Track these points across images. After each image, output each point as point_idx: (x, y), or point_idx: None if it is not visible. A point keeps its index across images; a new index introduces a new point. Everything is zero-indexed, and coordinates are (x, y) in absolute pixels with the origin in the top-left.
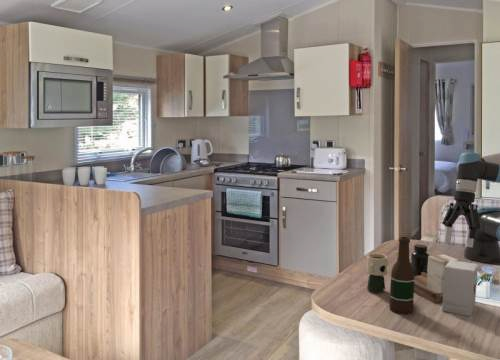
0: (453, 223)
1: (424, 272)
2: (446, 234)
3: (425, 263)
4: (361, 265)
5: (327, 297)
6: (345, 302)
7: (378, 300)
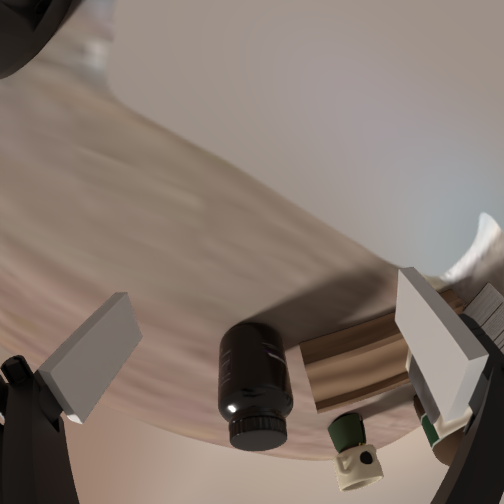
0: (32, 410)
1: (309, 364)
2: (113, 372)
3: (289, 379)
4: (164, 422)
5: None
6: (370, 439)
7: (384, 415)
